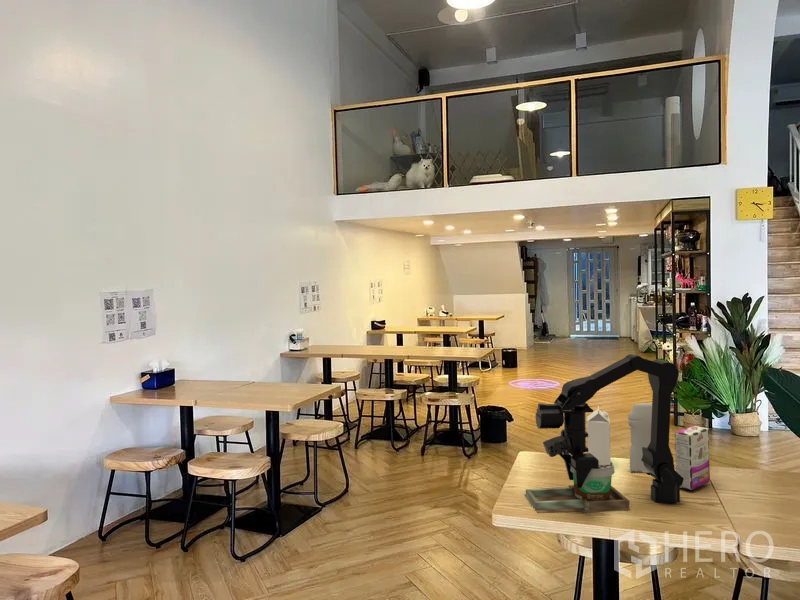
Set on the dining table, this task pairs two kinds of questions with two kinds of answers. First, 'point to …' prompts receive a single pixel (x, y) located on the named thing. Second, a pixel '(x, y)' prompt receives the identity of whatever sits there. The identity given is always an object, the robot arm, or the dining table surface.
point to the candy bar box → (693, 456)
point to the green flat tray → (572, 501)
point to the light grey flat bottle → (639, 434)
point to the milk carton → (599, 436)
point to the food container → (595, 484)
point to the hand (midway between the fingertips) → (575, 483)
